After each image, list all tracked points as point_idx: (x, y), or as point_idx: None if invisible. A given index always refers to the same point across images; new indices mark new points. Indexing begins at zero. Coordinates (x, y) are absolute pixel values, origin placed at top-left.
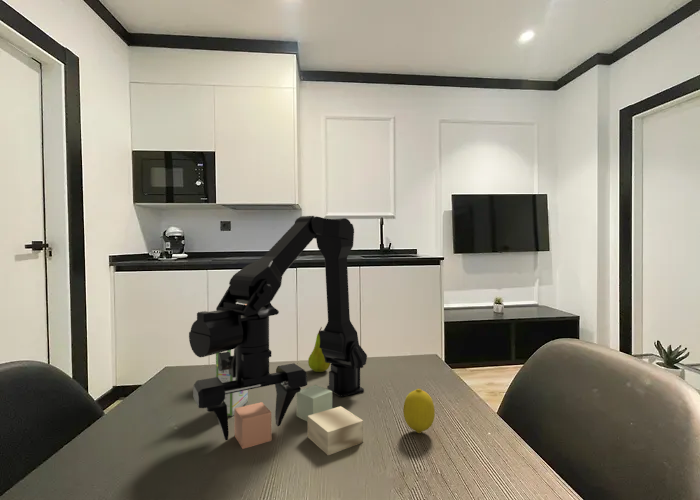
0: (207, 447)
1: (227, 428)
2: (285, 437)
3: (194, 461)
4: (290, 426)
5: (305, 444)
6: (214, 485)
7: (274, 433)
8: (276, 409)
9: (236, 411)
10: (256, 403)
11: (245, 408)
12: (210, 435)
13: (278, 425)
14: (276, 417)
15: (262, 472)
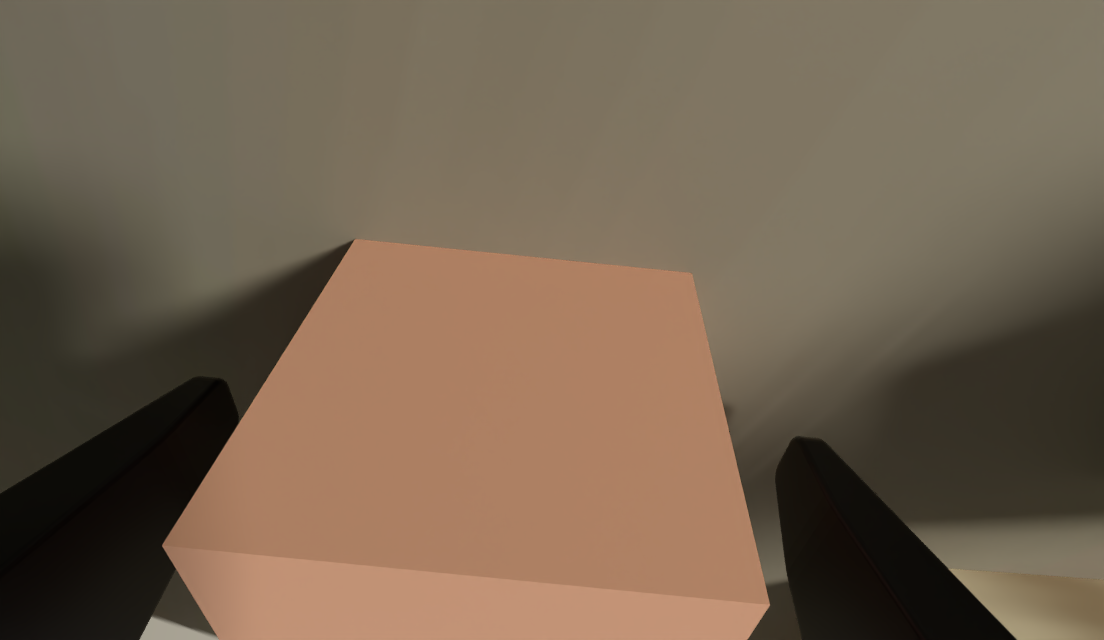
0: (67, 286)
1: (157, 588)
2: (751, 499)
3: (6, 405)
4: (943, 399)
5: (784, 601)
6: (194, 601)
7: (727, 415)
8: (868, 608)
9: (210, 616)
10: (644, 594)
11: (377, 624)
12: (33, 36)
13: (779, 491)
14: (812, 528)
15: None
